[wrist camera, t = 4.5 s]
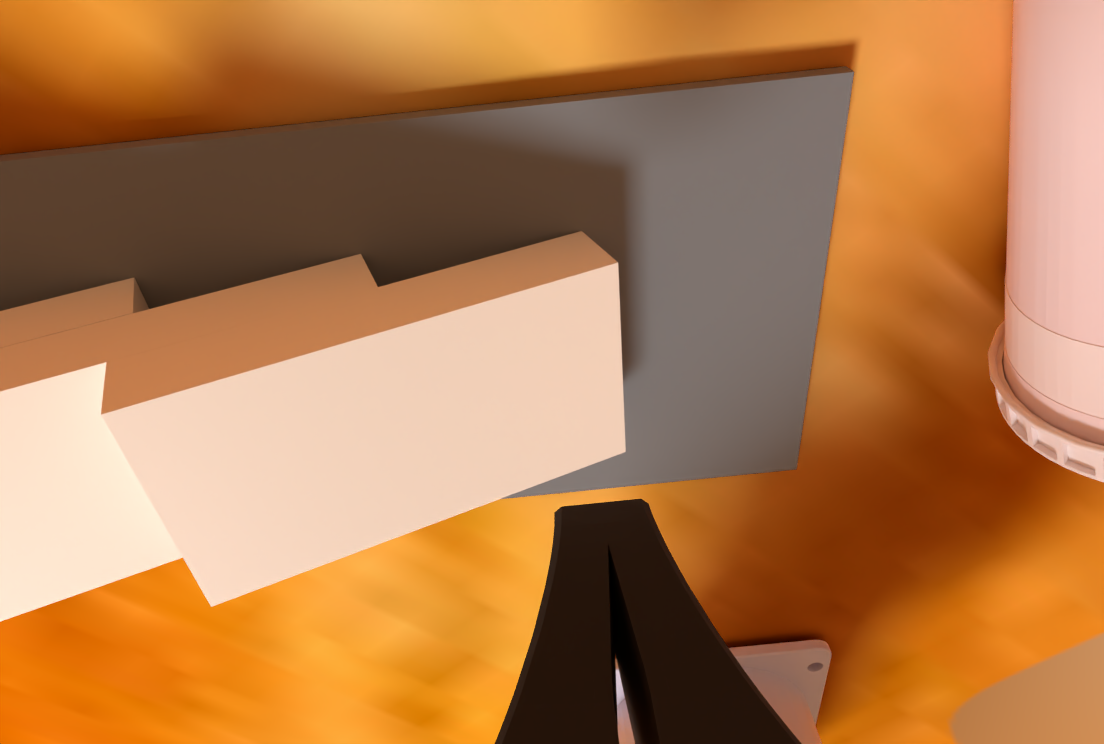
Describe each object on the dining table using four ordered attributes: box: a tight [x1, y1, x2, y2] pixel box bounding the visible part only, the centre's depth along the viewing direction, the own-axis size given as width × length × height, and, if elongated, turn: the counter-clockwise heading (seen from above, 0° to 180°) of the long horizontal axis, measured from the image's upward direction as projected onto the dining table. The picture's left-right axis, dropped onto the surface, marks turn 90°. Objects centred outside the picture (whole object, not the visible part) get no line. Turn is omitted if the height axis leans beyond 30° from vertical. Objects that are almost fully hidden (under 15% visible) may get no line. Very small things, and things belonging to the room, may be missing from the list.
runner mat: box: [0, 66, 854, 499], centre depth 17 cm, size 10×26×1 cm, turn 95°
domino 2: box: [101, 231, 626, 607], centre depth 15 cm, size 2×5×9 cm
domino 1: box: [0, 254, 378, 621], centre depth 15 cm, size 2×5×9 cm
